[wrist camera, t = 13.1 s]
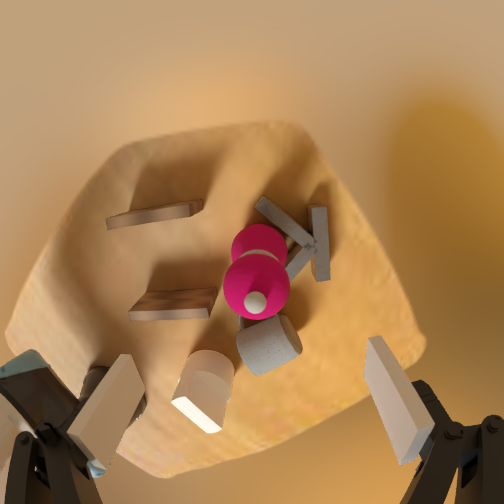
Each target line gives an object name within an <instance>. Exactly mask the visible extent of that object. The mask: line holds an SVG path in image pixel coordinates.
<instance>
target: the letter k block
mask: <svg viewBox="0 0 504 504" xmlns="http://www.w3.org/2000/svg"><path fill="white" fill-rule="evenodd" d="M255 209H256V210H257V211H259V212H260V213H261V214H262V215H264V216H265V217H266V218H267V219H269V220H270V221H271V222H273V223H274V224H275V225H276V226H278V227H279V228H280V229H281V230H283V231H284V232H285V233H286V234H288V235H289V236H290V237H291V238H292V239H294V240H295V241H296V242H297V244H296V245H295V246H294V248H293V249H292V250H291V251H290V252H289V253H288V255H287V259H286V263H285V265H284V268H285V270H286V271H287V273H288V277H289V281H290V282H291V281H292V279H293V278H294V277H295V276H296V275H297V274H298V273H299V272H300V270H301V269H302V268H303V267H304V266H305V265H306V264H307V262H308V261H309V260H310V259H311V268H312V274H313V276H314V278H315V280H316V282H318V281H326V280H330V253H329V234H328V218H327V207H326V206H324V205H322V204H311V205H307V212H308V224H309V231H307V230H306V229H305V228H304V227H303V226H301V225H300V224H299V223H298V222H296V221H295V220H294V219H293V218H292V217H290V216H289V215H288V214H287V213H285V212H284V211H283V210H282V209H280V208H279V207H278V206H277V205H275V204H274V203H273V202H272V201H270V200H269V199H268V198H267V197H265V196H264V195H263V196H262V197H261V199H260V200H259V201H258V202H257V204H256V205H255Z"/></svg>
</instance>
